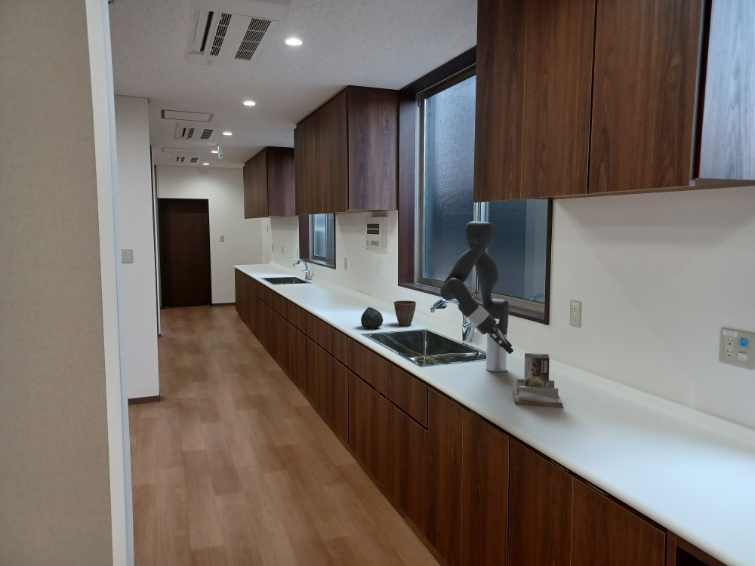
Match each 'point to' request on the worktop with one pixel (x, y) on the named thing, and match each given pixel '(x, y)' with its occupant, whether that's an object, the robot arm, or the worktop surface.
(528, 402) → the clevis cradle
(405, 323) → the plant pot
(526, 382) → the coffee box
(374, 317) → the squash
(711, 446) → the worktop surface
